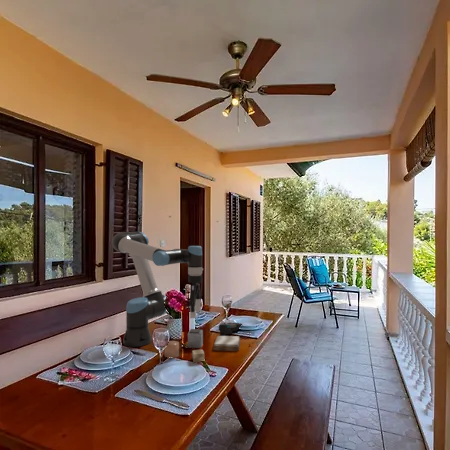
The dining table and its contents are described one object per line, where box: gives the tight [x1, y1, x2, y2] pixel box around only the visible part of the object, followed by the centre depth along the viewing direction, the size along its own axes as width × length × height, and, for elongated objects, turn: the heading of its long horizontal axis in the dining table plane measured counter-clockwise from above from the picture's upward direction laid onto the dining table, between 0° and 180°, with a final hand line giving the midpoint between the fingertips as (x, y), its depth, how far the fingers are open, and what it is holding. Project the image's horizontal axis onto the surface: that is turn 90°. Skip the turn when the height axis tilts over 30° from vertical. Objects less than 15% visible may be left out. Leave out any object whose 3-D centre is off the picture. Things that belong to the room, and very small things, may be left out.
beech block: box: [191, 348, 205, 363], centre depth 147 cm, size 5×5×4 cm
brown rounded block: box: [164, 340, 180, 359], centre depth 153 cm, size 7×7×6 cm
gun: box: [218, 322, 243, 336], centre depth 185 cm, size 4×20×10 cm, turn 146°
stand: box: [212, 335, 241, 352], centre depth 165 cm, size 13×13×3 cm
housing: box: [187, 328, 204, 349], centre depth 166 cm, size 7×6×8 cm
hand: (195, 314), depth 166 cm, fingers open, 13 cm apart
